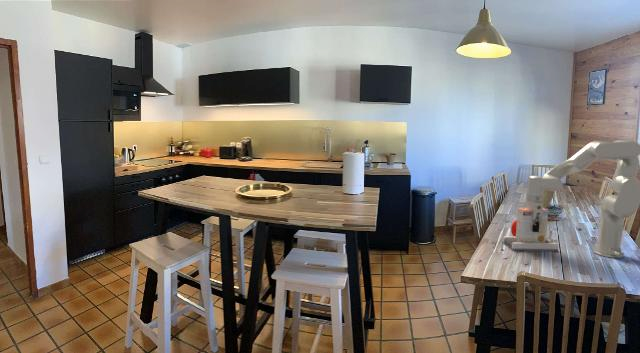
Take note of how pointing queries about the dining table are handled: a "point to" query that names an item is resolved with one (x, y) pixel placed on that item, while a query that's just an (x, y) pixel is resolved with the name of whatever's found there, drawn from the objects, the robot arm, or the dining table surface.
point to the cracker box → (530, 227)
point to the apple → (514, 228)
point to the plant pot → (547, 198)
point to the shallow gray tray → (529, 245)
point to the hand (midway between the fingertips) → (531, 229)
